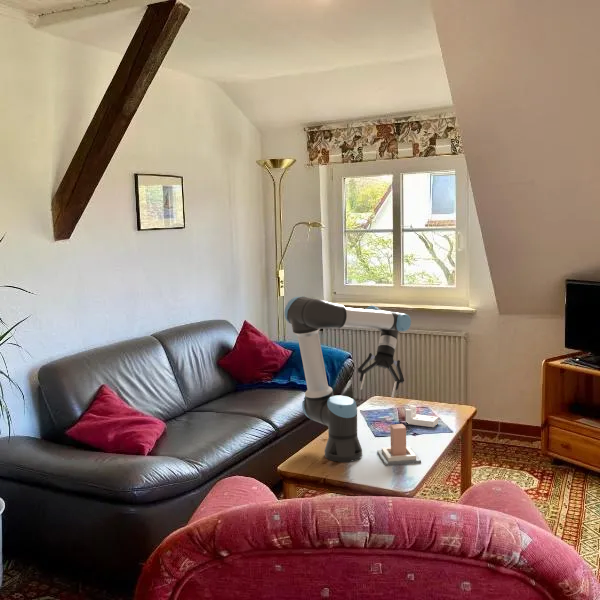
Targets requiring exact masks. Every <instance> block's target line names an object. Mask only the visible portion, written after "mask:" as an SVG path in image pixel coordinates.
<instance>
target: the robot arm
mask: <svg viewBox="0 0 600 600" xmlns="http://www.w3.org/2000/svg"><path fill="white" fill-rule="evenodd" d="M284 318H285V320H286V322H288V323H289V324H290V325H291V328H292V332H293V334H294V335H296V336H297V339H298V344H299V350H300V351H299V352H300V356H301V360H302V366H303V367H302V368H303V372H304V378H305V383H306V388H307V389H306V391H305V392H304V397H303V400H302V406H301V408H302V411H303V414H304V415H305V416H306V417H307V418H308V419H310V420H311V421H313V422H316V423H319V424H322V425H324V426H327V429H328V438H327V440H326V445H325V447H324V457H325V458H326V459H327V460H329V461H332V462H336V461H338V462H337V463H349V462H355V461H357V460H359V459H361V458H362V457H363V448H362V446H361V443H360V440H359V437H358V408H357V402H356V400H355V399H354V398H351V397H349V396H347V395H340V394H339V395H334V391H333V388H332V387H331V386H329V384H328V379H327V373H326V366H325V361H324V357H323V351H322V345H321V340H320V335H319V331H320V330H322V329H339V330H340V329H342V328H344V327H345V328H346V327H349V328H362V329H363V328H364V329H375V330H378V331H379V332H380V336H379V340H378V347H377V348H376V349H377V350H376V353H375V355H374V354H372V352H370V353H368V357H367V358H366V359H365V360H364V361H363V363H361V365H360V366H358V367H357V371H356V373H359V374H360V377H359V382H361V384H360V389H359V390H360V391H361V390H363V387H364V382H365V377H366V374H367V373H368V372H370V371H371V370H372V369H374V368H376V367H378V368H382V369H387V370H388V371H389V373H390V375H391V376H392V378H393V380H394V384H393V389H392V392H391V398H394V397H395V394H396V393H395V392H396V391H398V389H399V386H400V384H404V382H405V378H404V375H403V372H402V368H401V360H399V359H398V360H395V359H394V357H395V353H396V350H395V349H396V347H397V342H398V337H399V333H400V332H406V331H408V330H409V329H410V327H411V326H412V319H411V316H410V315H409V314H408V313H407V314H406V313H403V312H395V311H389V310H383V309H380V308H379V307H377V306H375V305H369V306H368V307H366V308H365V309H364V308H354V307H345V306H344V305H343V304H340V303H334V302H330V301H326V300H322V299H320V298H319V299H318V298H313V297H307V296H295V297H293V298H291V299H290V300H289V301H288V302H287V304H286V305H285V307H284ZM373 359H374V362H372V364H370V365H368V363H370V361H372V360H373ZM367 365H368V366H367ZM393 365H394V366H395V367H396V371H395V369H394V368H393ZM366 366H367V367H366ZM365 367H366V368H365ZM397 374H398V375H397Z"/></svg>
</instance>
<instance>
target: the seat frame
mask: <svg viewBox="0 0 600 600" xmlns="http://www.w3.org/2000/svg"><path fill="white" fill-rule="evenodd" d="M376 453H377V455H378V456H379V458H380V459H381V461H382V462H383V464H384V465H385V466H388V465H389V466H399V465H398V464H401V465H410V464H409V463H414V464H422V459H420V457H419V456H418V454H416V452H415V451H414V450H413V449H412V447H410V446H409V445H406V455H399V456H392V455H391V446H389V447H388V446H387V447H381V449H377V451H376Z"/></svg>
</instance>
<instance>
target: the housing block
mask: <svg viewBox="0 0 600 600" xmlns="http://www.w3.org/2000/svg"><path fill="white" fill-rule="evenodd" d="M389 426H390V427H389V428H390V433H389V434H390V447H391V455H392V456H399V455H406V446H407V427H406V426H405V425H404V424H403V423H397V424H390V425H389Z"/></svg>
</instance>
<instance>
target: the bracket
mask: <svg viewBox="0 0 600 600" xmlns="http://www.w3.org/2000/svg"><path fill="white" fill-rule="evenodd" d="M406 422H407V423H408V424H407V425H413V426H421V427H429V428H434V427H436V426H435V425H437V424H438V425H439V416H431V415H425V414H424V415H423V414H417V405H412V404H411V405H409V408H406V409H405V423H406Z"/></svg>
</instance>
